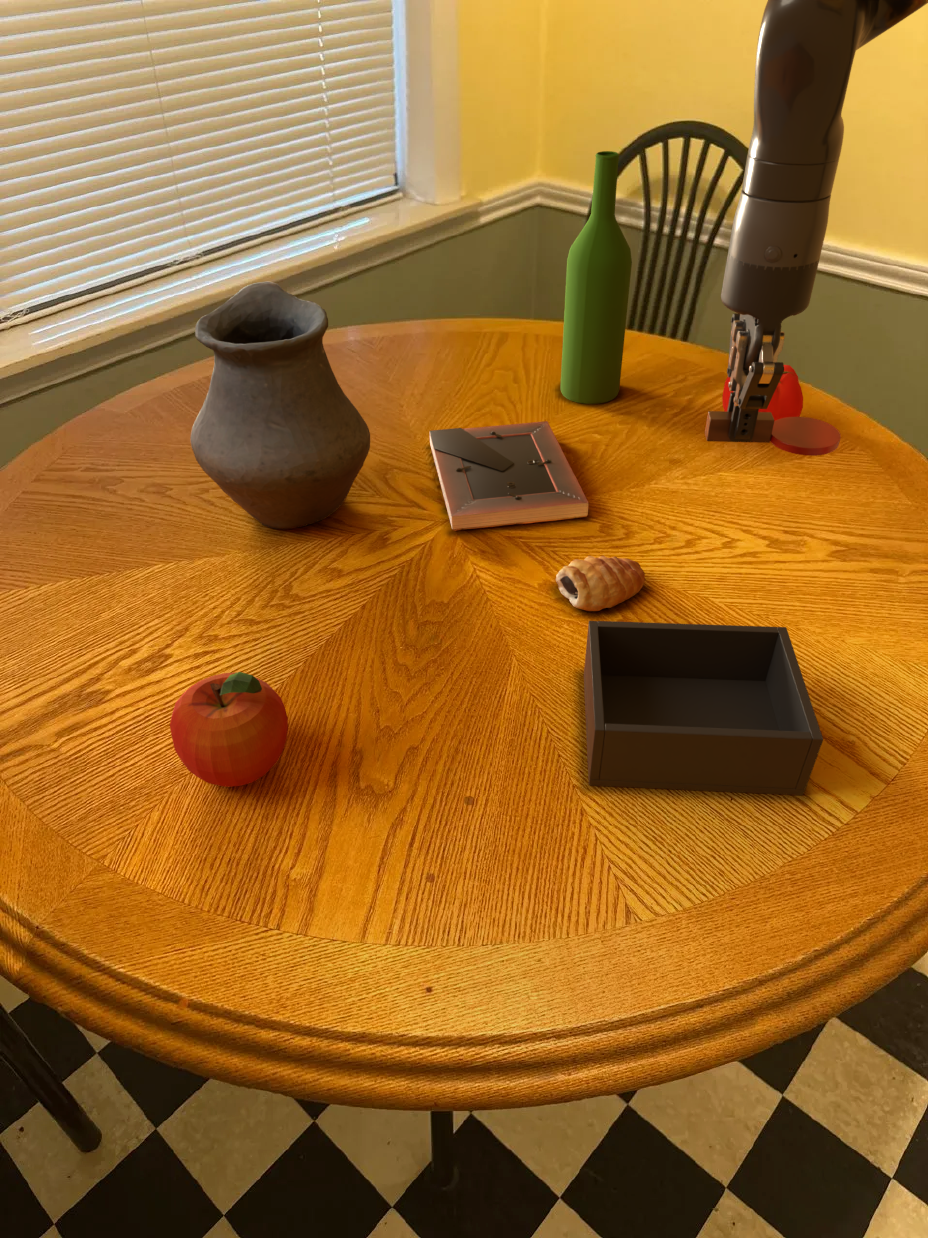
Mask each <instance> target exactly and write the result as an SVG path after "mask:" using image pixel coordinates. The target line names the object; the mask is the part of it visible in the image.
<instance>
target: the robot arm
mask: <svg viewBox="0 0 928 1238" xmlns="http://www.w3.org/2000/svg"><path fill="white" fill-rule="evenodd" d="M927 4H928V0H767V1H766V4H765V6H764V10H763V14H762V17H761V21H760V26H759V32H758V38H757V46H756V54H755V66H754V67H755V68H754V70H755V71H754V87H753V88H754V89H753V127H752V132H751V137H750V141H749V145H748V150H747V155H746V160H745V168H744V174H743V180H742V185H741V190H740V195H739V199H738V203H737V206H736V209H735V213H734V216H733V221H732V226H731V231H730V238H729V243H728V244H729V245H728V250H727V257H726V262H725V269H724V274H723V281H722V288H721V292H720V301H721V303H722V304H723V306H725V308H727V309H728V310H730V311H731V312H734V313H732V316H731V317H730V323H731V324H730V337H729V351H728V364H727V369H726V374H727V377H731V378H730V382H729V384H728V387H729V391H733V392H731V393H730V398H729V404H728V409H727V411H728V412H732V418H731V423H730V428H729V434H728V436H729V439H730V441H732V442H731V443H751V442H750V441H751V440H752V439H753V435H754V430H755V425H756V420H757V416H758V411H759V409H767V407H768V405H769V403H770V401H771V399H772V396H773V394H774V392H775V390H776V388H777V385H778V383H779V381H780V379H781V377H782V374H783V372H784V365H785V364H784V362H782V361H778V359H779V356H780V354H781V353H782V351H783V348H784V344H785V338H786V336H785V335H786V333H785V331H782V323H783V321H784V320H786V319H787V318H789V317H793V316H794V317H795V316H797V315H800V314H801V313H803V312H804V311H806V309H807V308H808V307H809V305H810V303H811V298H812V294H813V289H814V286H815V285H814V284H815V281H816V277H817V272H818V267H819V264H820V259H821V254H822V250H823V245H824V242H825V237H826V234H827V228H828V224H829V223H828V222H829V216H830V215H829V214H830V205H831V197H832V192H833V188H834V184H835V179H836V175H837V170H838V167H839V161H840V158H841V154H842V148H843V142H844V134H845V124H844V123H845V122H844V119H843V116H842V112H843V107H844V103H845V99H846V95H847V90H848V85H849V82H850V77H851V72H852V68H853V64H854V60H855V56H856V52H857V51H858V50H859V49H861V48H862V47H864V46H865V45H867V44H869V43H870V42H872V41H873V40H875V39H876V38H878V37H879V36H881V35H882V34H884V33H885V32H887V31H889V30H890V29H892V28H893V27H895V26H896V25H898V24H899V23H901V22H902V21H904V20H905V19H907V18H908V17H909V16H911V15H913V14H914V13H916V12H917V11H919V10H920V9H922V8H923V7H924V6H926V5H927Z"/></svg>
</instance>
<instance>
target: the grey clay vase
mask: <svg viewBox="0 0 928 1238" xmlns="http://www.w3.org/2000/svg"><path fill="white" fill-rule="evenodd" d="M328 328H329V317H328V314H327V311H326V310H325V309H324V308H323V307H322V306H320V305H319V304H318V303H317V302H314V301H311V300H305V299H301V298H299V297H298V296H295V295H294V294H292V293H290V292H288V291H285V290H284V289H283V288H282V287H281V285H279V284H278V283H275V282H272V281H259V282H254V283H250V284H247V285H245V286H243V287H242V288H240V289H239V290H238V291H237V292H235V294H234V295H232V296H231V297H230V298H229V299H227V300H226V301H225V302H224V303H222V304H221V305H219V306H218V307H217V308H215V309H214V310H212V311H210V312H209V313H207V314H205V315H203V316H200V318H199V319H198V320H197V322H196V324H195V328H194V334H195V335H194V336H195V338H196V340H197V341H198V342H199V343H201V344H202V345H203V346H204V347H206V348H207V349H210V350H212V351H213V369H212V373H211V377H210V382H209V386H208V391H207V393H206V396H205V398H204V401H203V403H202V406H201V408H200V410H199V412H198V414H197V416H196V418H195V420H194V422H193V425H192V427H191V432H190V439H189V440H190V446H191V449H192V452H193V455H194V458H195V461H196V462H197V464H198V465H199V467H200V468H201V469H202V471H203V472H204V473H205V474H206V475H207V476H208V477H209V478H210V479H211V480H212V481H213V482H214V483H215V484H216V485H217V486H218V487H219V488H220V490H222V491H223V493H224V494H225V495H227V496H228V497H229V498H230V499H231V500H232V501H233V502H234V503H235V504H236V505H238V506H239V507H241V509H243V510H244V511H245V512H246V513H247V514H249V515H250V516H251V517H252V518H253V519H255V520H256V521H257V522H259V523H260V524H261V525H262V526H264V527H267V528H270V529H274V530H289V529H296V528H302V527H306V526H308V525H311V524H315V523H318V522H321V521H322V520H325V519H326V518H328V517H329V516H331V515H332V514H334V513H335V512H336V511H337V510H338V509H339V508H340V507H342V505H343V504H344V502H345V500H346V499H347V497H348V495H349V493H350V491H351V488H352V486H353V484H354V481H355V480H356V478H357V476H358V475H359V472H360V471H361V470H362V468H363V467H364V464H365V461H366V459H367V457H368V455H369V452H370V450H371V432H370V428H369V426H368V424H367V422H366V421H365V419H364V417H363V416H362V415H361V414H360V412H359V411H358V409H357V407H356V406H355V405H354V404H353V402H352V401H351V400H350V399H349V397H348V396H347V394H345V392H344V391H343V389H342V387H341V385H340V384H339V382H338V380H337V378H336V376H335V372H334V371H333V369H332V367H331V364H330V361H329V359H328V355H327V352H326V350H325V347H324V342H323V340H324V336H325V333H326V332H327V331H328Z"/></svg>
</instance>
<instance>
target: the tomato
mask: <svg viewBox="0 0 928 1238" xmlns="http://www.w3.org/2000/svg"><path fill="white" fill-rule="evenodd" d="M730 378H731V377H728V376H726V379H725V381H724V384H723V385H724V386H723V390H722V395H721V396H722V398H721V400H722V408H723V411H727V409H728V404H729V398H730V393H731V392H733V391H729V387H728V384H729V382H730ZM799 380H800V379H799V375H798V374H797V372H796V370H795V369H794V368H793V367H792V366H791V365H790V364H784V372H783V374H782V377H781V379H780V381H779V383H778V385H777V388H776V390H775V392H774V394H773V396H772V399H771V401H770V403H769V405H768V407H767V409H759V411H758V412H771V413H772V416H773V418H774V421H776V420H778V419H781V418H786V417H801V414H802V411H803V408H804V395H803V389H802V386H801V385H800V382H799Z"/></svg>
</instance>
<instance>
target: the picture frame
mask: <svg viewBox="0 0 928 1238" xmlns="http://www.w3.org/2000/svg"><path fill="white" fill-rule="evenodd" d="M429 445H430V448H431V453H432V457H433V461H434V465H435V469H436V472H437V476H438V480H439V483H440V488H441V492H442V496H443V500H444V505H445V507H446V510H447V516H448V518H449V519H448V520H449V524H450V526H451V530H453V531H461V530H472V529H482V528H483V529H484V528H493V527H502V526H511V525H523V524H525V525H526V524H533V523H543V522H554V521H561V520H572V519H578V518H587V517H588V515H589V503H590V502H589V500H588V499H587V497H586V494H585V493H584V490H583V489H582V487H581V485H580V482H579V481H578V479H577V477H576V475H575V473H574V471H573V469H572V467H571V464H570V463H569V460H568V459H567V457H566V455H565V453H564V451H563V449H562V447H561V445H560V443H559V441H558V440H557V437H556V436H555V434H554V432H553V429H552V428H551V426H550V423H549V422H548V420H545V421H535V422H522V423H513V424H501V425H500V424H499V425H490V426H489V425H488V426H478V427H468V428H462V427H455V428H444V429H433V430H432V429H431V430H429Z"/></svg>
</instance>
